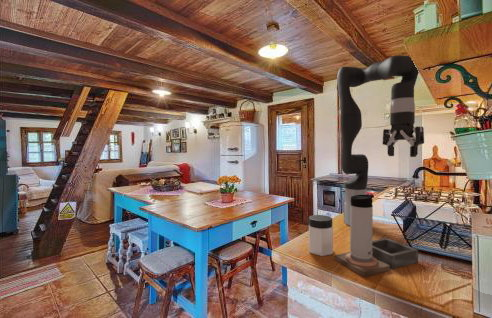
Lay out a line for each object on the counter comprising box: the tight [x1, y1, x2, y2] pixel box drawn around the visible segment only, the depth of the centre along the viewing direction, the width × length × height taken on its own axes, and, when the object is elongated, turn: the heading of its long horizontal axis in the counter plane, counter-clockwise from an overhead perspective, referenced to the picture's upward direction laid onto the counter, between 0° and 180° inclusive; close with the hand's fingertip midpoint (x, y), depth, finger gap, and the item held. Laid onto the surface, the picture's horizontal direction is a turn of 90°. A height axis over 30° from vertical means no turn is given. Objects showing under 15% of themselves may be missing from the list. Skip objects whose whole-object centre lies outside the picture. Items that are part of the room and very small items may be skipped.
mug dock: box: [334, 237, 419, 278], centre depth 80 cm, size 12×23×4 cm, turn 111°
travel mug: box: [349, 194, 375, 262], centre depth 77 cm, size 6×7×20 cm
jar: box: [307, 214, 334, 257], centre depth 88 cm, size 9×8×12 cm
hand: (401, 156), depth 91 cm, fingers open, 8 cm apart
